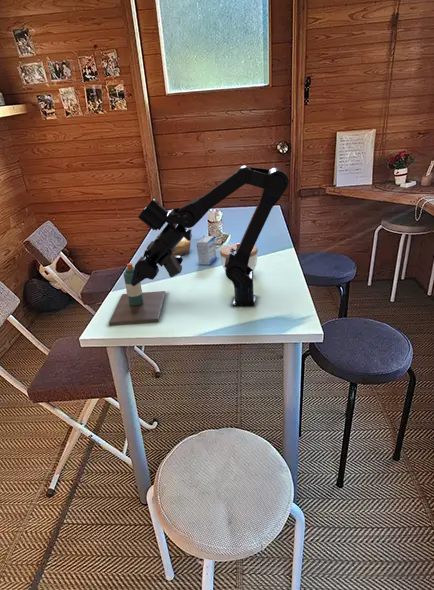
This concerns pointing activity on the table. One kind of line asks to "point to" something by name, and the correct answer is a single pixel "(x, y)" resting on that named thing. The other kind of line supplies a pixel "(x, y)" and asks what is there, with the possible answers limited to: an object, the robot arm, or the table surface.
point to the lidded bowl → (226, 250)
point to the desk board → (139, 309)
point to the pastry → (182, 247)
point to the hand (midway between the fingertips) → (136, 279)
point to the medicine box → (206, 250)
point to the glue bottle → (132, 287)
